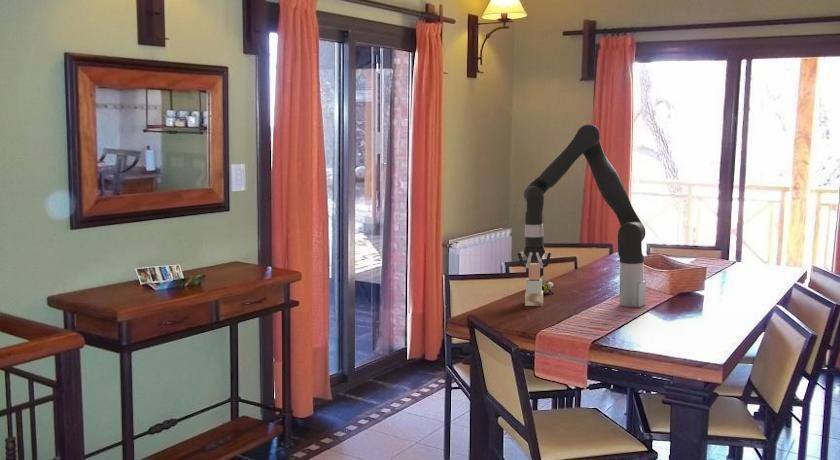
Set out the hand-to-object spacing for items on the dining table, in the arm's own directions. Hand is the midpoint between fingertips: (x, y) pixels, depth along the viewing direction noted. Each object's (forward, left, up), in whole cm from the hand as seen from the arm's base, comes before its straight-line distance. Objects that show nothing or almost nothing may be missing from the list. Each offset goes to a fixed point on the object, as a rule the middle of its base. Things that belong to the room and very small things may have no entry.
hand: (534, 276), depth 317 cm
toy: (+7, -17, -11) cm, 22 cm away
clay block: (0, 0, -1) cm, 1 cm away
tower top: (0, 0, -6) cm, 6 cm away
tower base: (0, +1, -11) cm, 11 cm away
